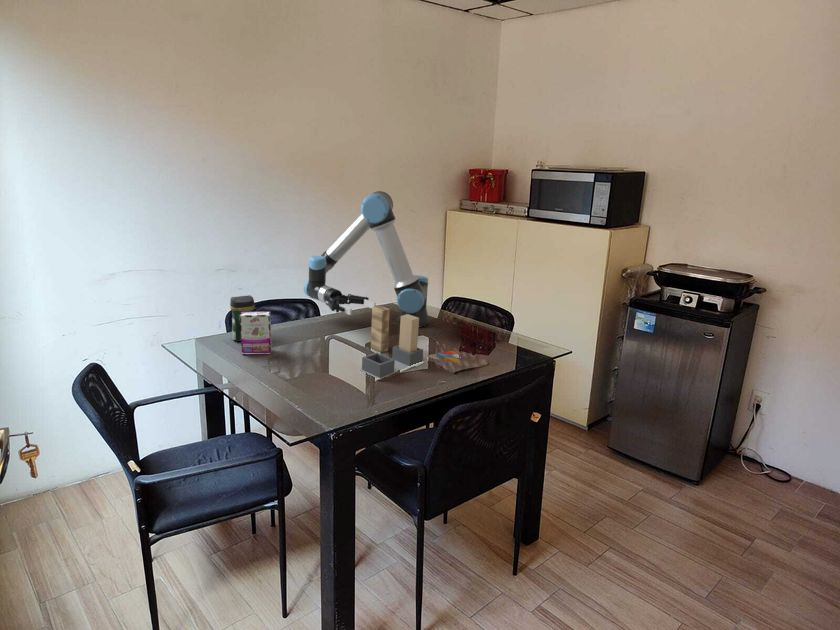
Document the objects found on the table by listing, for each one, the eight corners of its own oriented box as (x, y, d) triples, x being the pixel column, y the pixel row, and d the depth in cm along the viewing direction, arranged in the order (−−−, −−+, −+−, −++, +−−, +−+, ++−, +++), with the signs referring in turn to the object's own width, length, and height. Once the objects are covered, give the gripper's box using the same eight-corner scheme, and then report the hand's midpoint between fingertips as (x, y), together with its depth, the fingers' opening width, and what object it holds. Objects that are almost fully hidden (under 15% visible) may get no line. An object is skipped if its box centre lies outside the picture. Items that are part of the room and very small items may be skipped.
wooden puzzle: (489, 365, 222) (490, 357, 221) (454, 376, 211) (455, 367, 210) (460, 351, 235) (460, 343, 234) (425, 360, 223) (426, 352, 222)
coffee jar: (253, 334, 237) (251, 292, 231) (258, 340, 231) (256, 297, 225) (229, 337, 232) (227, 294, 226) (234, 343, 226) (232, 300, 220)
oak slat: (377, 346, 233) (379, 305, 228) (387, 350, 230) (389, 309, 224) (370, 348, 230) (372, 307, 225) (380, 352, 227) (382, 310, 221)
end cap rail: (405, 355, 225) (408, 311, 219) (424, 363, 219) (427, 318, 213) (359, 372, 207) (361, 324, 201) (378, 381, 201) (380, 332, 195)
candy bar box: (271, 349, 222) (270, 311, 217) (271, 354, 218) (270, 315, 212) (242, 350, 220) (241, 311, 215) (241, 355, 215) (239, 315, 210)
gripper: (351, 299, 255) (383, 312, 242) (307, 309, 237) (339, 323, 224) (352, 284, 252) (384, 295, 239) (307, 292, 234) (340, 305, 221)
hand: (363, 308), depth 231 cm, fingers open, 13 cm apart
